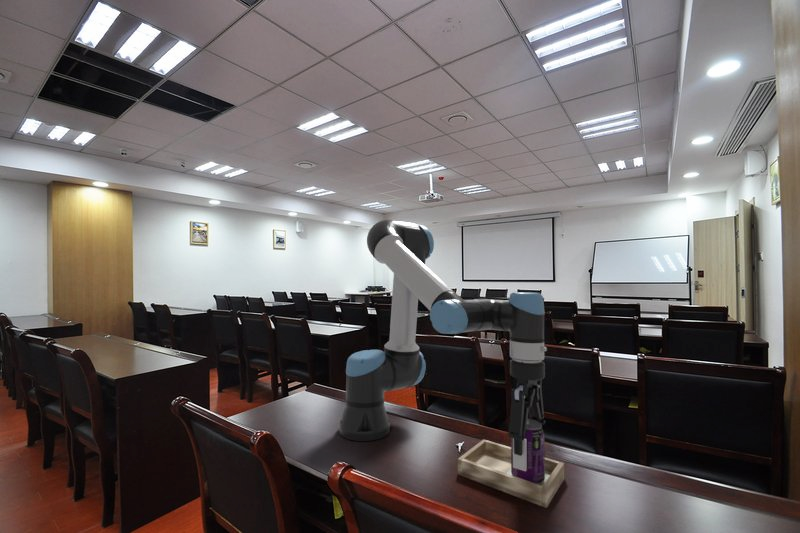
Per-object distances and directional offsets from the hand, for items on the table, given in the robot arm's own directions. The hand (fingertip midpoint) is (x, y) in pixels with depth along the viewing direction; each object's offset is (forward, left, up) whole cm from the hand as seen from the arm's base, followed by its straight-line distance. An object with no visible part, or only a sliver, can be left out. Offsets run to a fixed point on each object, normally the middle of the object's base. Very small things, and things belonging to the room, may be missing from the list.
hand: (527, 459), depth 80 cm
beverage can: (0, 0, -4) cm, 4 cm away
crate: (-4, 0, -5) cm, 6 cm away
